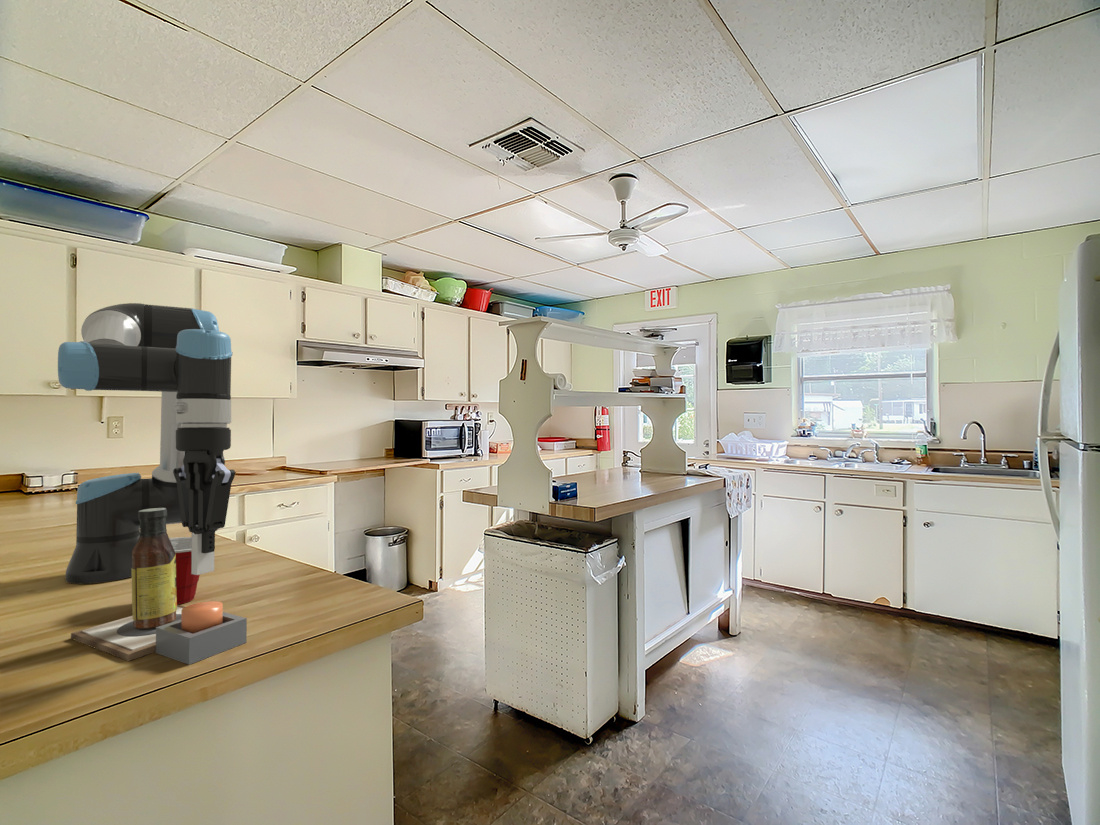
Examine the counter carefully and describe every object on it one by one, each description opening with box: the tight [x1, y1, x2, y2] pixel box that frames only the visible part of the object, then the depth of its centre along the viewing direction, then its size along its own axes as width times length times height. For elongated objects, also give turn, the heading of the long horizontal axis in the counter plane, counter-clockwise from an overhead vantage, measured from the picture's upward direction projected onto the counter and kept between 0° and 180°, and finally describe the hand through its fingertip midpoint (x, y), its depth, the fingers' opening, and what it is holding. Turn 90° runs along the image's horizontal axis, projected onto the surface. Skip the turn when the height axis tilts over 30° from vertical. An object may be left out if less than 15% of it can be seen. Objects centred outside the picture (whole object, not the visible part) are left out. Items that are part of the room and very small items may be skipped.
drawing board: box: [70, 604, 185, 662], centre depth 93 cm, size 18×16×1 cm
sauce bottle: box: [131, 508, 177, 629], centre depth 93 cm, size 6×6×20 cm
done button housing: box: [155, 611, 248, 665], centre depth 87 cm, size 9×9×4 cm
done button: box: [181, 600, 224, 634], centre depth 87 cm, size 6×6×4 cm
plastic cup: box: [169, 536, 201, 605], centre depth 109 cm, size 11×11×12 cm
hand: (202, 572), depth 87 cm, fingers closed
